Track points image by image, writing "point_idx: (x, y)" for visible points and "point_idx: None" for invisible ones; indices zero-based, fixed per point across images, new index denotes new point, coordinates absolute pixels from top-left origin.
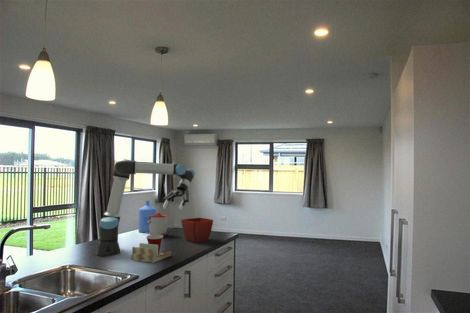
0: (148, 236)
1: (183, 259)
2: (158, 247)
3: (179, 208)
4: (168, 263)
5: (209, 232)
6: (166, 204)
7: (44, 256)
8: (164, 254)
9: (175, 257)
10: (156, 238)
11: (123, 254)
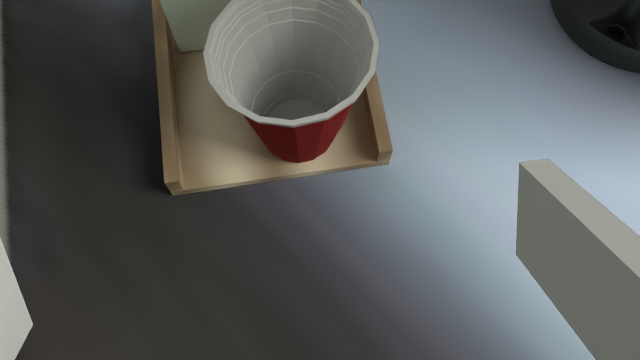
0: (366, 36)
1: (11, 162)
2: (245, 99)
3: (4, 268)
4: (53, 31)
5: None
6: (586, 309)
7: None
8: (159, 96)
9: (105, 174)
10: (222, 11)
11: (521, 35)
